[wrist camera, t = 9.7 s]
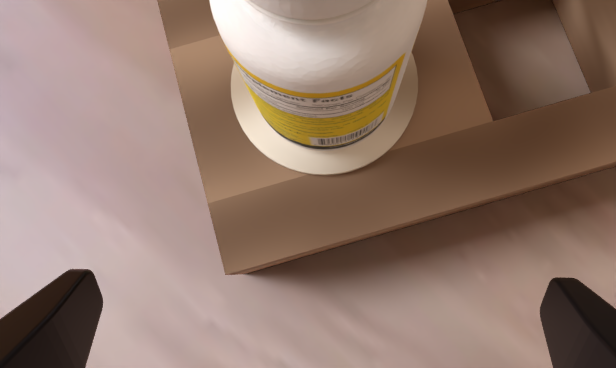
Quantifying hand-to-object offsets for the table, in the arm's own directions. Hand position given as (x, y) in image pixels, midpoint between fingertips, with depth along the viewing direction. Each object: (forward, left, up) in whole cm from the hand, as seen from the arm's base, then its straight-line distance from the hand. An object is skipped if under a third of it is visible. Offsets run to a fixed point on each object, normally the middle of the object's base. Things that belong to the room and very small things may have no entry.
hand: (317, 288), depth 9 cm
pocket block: (+7, -7, -12) cm, 15 cm away
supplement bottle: (+7, -2, -8) cm, 11 cm away
